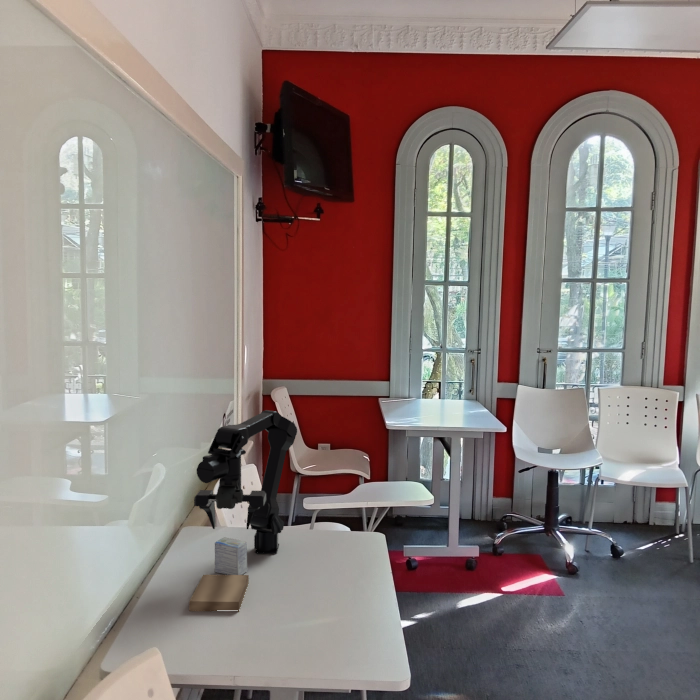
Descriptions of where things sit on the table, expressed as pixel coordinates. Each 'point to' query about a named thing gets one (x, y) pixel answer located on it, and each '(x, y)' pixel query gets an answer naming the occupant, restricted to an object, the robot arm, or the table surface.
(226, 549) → the medicine box
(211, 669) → the table surface
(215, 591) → the flat brown cardboard box
